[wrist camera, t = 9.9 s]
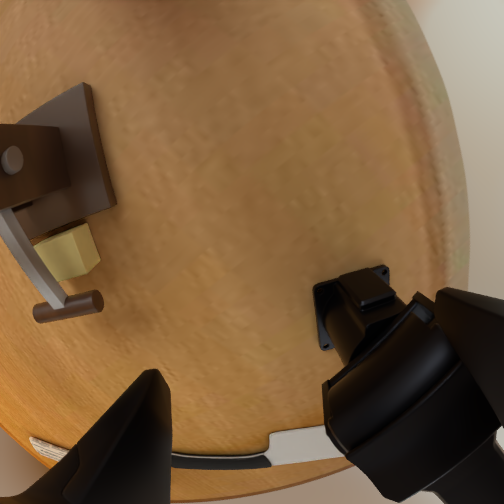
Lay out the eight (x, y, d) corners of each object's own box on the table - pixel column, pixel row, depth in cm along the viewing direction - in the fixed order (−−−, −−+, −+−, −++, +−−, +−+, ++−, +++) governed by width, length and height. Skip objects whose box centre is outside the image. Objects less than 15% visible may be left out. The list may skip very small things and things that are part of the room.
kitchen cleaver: (409, 409, 28) (385, 452, 30) (404, 402, 29) (381, 445, 31) (158, 432, 24) (170, 474, 27) (160, 422, 26) (171, 465, 28)
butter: (101, 260, 18) (87, 274, 16) (60, 272, 18) (44, 286, 16) (87, 222, 17) (71, 231, 15) (46, 238, 17) (29, 248, 15)
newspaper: (155, 466, 29) (154, 476, 27) (165, 482, 31) (164, 491, 30) (31, 434, 27) (28, 441, 25) (48, 454, 29) (46, 461, 27)
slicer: (117, 203, 17) (45, 245, 9) (23, 241, 17) (-45, 287, 9) (90, 84, 14) (13, 54, 6) (-1, 141, 14) (-76, 152, 6)
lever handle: (107, 294, 17) (100, 322, 15) (48, 308, 17) (40, 332, 15) (18, 127, 9) (-8, 142, 7) (-36, 172, 9) (-58, 191, 7)
